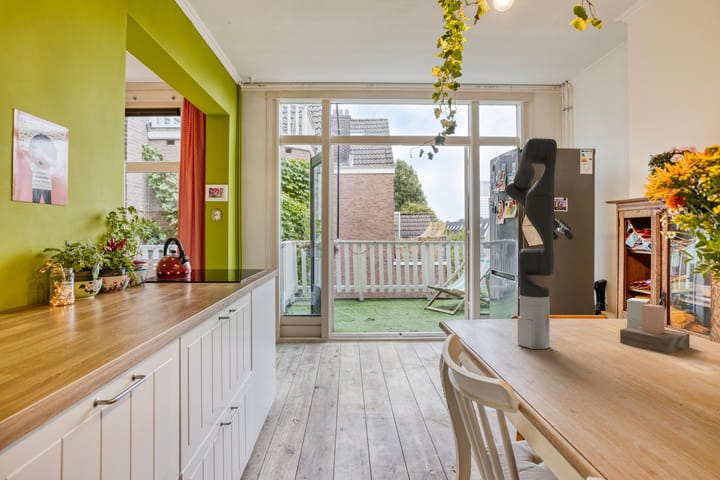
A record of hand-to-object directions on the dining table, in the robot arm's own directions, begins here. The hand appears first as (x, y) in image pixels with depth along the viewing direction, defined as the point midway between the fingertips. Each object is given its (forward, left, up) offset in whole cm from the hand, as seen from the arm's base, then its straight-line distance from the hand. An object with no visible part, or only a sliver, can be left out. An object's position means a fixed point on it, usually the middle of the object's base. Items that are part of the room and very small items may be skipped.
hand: (564, 238), depth 143 cm
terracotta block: (+12, -24, -32) cm, 42 cm away
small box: (+24, -13, -37) cm, 46 cm away
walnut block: (+12, -24, -37) cm, 46 cm away
